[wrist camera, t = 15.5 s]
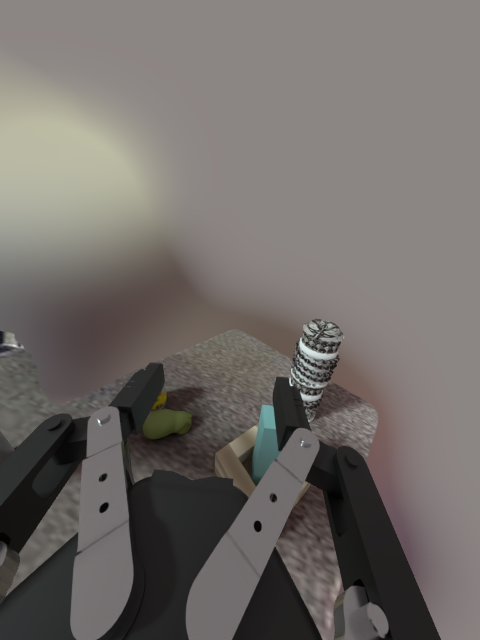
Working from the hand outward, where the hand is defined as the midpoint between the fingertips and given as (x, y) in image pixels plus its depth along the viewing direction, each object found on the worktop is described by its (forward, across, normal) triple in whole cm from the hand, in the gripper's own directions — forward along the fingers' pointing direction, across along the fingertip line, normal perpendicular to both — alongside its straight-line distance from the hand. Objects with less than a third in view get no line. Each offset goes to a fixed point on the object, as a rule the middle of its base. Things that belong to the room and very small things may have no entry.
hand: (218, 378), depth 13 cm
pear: (+16, +12, +32) cm, 38 cm away
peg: (+8, -7, +30) cm, 32 cm away
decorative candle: (+25, -18, +32) cm, 44 cm away
